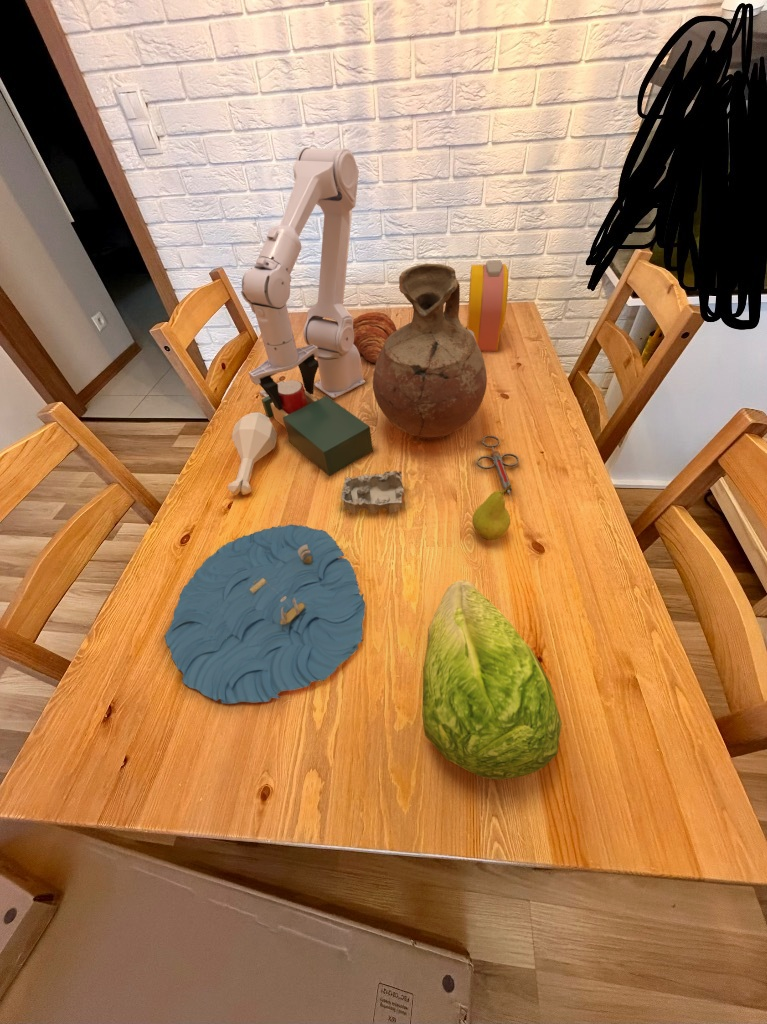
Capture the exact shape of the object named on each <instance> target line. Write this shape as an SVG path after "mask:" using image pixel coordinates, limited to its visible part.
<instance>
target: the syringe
mask: <svg viewBox="0 0 767 1024" xmlns="http://www.w3.org/2000/svg"><path fill="white" fill-rule="evenodd" d="M489 438H490V439H491V438H492V439H493V440H494V439H495V440H496V441H497V443H496V444H493V445H489V444H486V443H485V442H484V440H486V439H489ZM481 444H482V445H483V446H484V447H485V448H488V449H492V452H491V453H490V456H489V455H483V456H479V457H478V458H477V460H476V465H477V466H478V468H480V469H482V470H491V469H493V468H495V469H496V471H497V474H498V477H499V481H500V484H501V486H502V488H503V490H504V489H505V488H506V487H507V486H509V485H511V483H510V480H509V478H508V475H507V472H506V469H505V467H508V468H514V467H516V466H518V464H519V461H520V459H519V457H518V455H516V454H514V453H503V454H502V455H501V453H500V451H499V450H495V449H494V448H496V447H498V446H499V444H500V439H499V437H497V436H495V435H486V436H483V438H481ZM505 457H513V458H515V459H516V462H515V463H512V464H507V463H506V462H504V461H503V460H502V459H503V458H505ZM483 459H488V460H491V461H492V462H493V464H492V465H490V466H482V465H481V464H480V463H479V461H480V460H483ZM512 491H513V489H512V487H511V488H509V489H508V490H506V491H505V492H504V493H506V494H507V495H509V497H510V498H511V501H513V499H512V496H511V493H512Z"/></svg>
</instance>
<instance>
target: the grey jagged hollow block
mask: <svg viewBox="0 0 767 1024" xmlns="http://www.w3.org/2000/svg"><path fill="white" fill-rule="evenodd" d="M404 489H405V487H404V485H403V473H402V471H401V470H400V471H399V470H398V471H397V470H393V471H392V470H389V471H384V473H375V474H362V475H359V476H354V477H350V476H346V477H344V483H343V487H342V491H341V497H340V500H341V501H342V502H343V507H344V509H346V510H348V511H349V513H350V515H355V514H357V513H358V512H359V511H360V510H367V511H368V512H369V514H371V515H375V514H377V512H378V511H379V510H383V509H384V510H387V511H388V513H389V514H395V513H396V512H397V511H398V510H399V509H401V508H402V507H403V494H404Z"/></svg>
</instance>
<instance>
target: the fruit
mask: <svg viewBox="0 0 767 1024" xmlns="http://www.w3.org/2000/svg"><path fill="white" fill-rule="evenodd" d="M509 488H512V485H511V484H510V485H509V486H507V487H506V488H505V489H503V490H502V491H501V490H496V491H494V492H492V493H491V494H490V495H488V497H487V498H486V499H485V501H484V502H483V503H481V504H480V505H479V506H478V507H477V508H476V509H475V511H474V512H473V515H472V518H471V519H472V522H471V523H472V526H473V528H474V530H475V532H476V533H477V534H478V535H479V536H481V537H482V538H484V539H486V540H489V541H495V540H498V539H501V538H502V537H504V536H505V534H506V533H507V532H508V530H509V529H510V526H511V516H510V513H509V511H508V509H507V508H506V500H505V498H504V496H505V493H506V492H505V491H506V490H508V489H509Z"/></svg>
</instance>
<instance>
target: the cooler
mask: <svg viewBox="0 0 767 1024" xmlns="http://www.w3.org/2000/svg"><path fill="white" fill-rule="evenodd" d="M283 421H284V425H285V427H284V428H285V431H286V435H287V438H288V441H289V443H290V444H292V445H293V446H294V447H295V448H296V449H297V450H298V451H299V452H301V453H302V454H303V455H304V456H305V457H306V458H308V460H309V461H311V462H312V463H313V464H314V465H315V466H317V467H318V468H319V469H320V470H321V471H322V472H323V473H325V475H327V476H328V477H331V476H333V475H334V474H336V473H339V472H340V471H342V470H344V469H345V468H346V467H348V466H351V465H353V463H355V462H357V461H358V460H360V459H361V458H362V459H363V457H366V456H367V455H369V454H370V453H372V452H373V451H374V450H373V441H372V433H371V426H370V425H368V424H367V423H366V422H364V421H363V420H361V419H360V418H359V417H358V416H355V414H353V413H352V412H350V411H349V410H347V409H346V408H344V406H341V405H340V404H339V403H337V402H336V401H334V400H333V398H331V397H330V396H328V395H325V396H323V397H320V398H319V399H318V400H317V401H315V402H313V403H311V404H309V405H307V406H305V407H303V408H301V409H299V410H297V411H295V412H293V413H291V414H289V415H287V416H285V417H283Z"/></svg>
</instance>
